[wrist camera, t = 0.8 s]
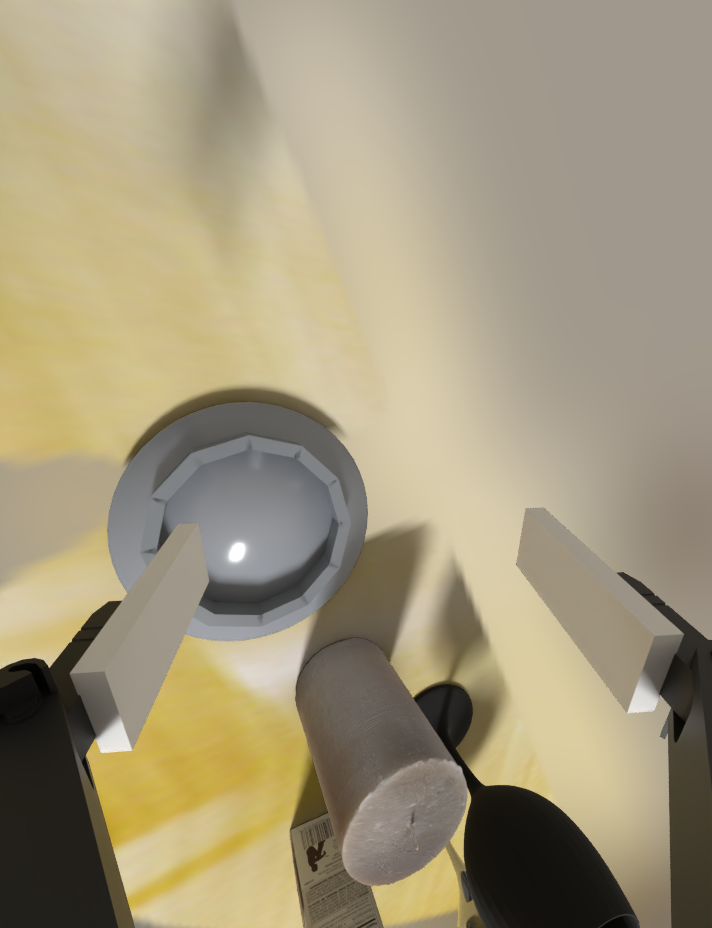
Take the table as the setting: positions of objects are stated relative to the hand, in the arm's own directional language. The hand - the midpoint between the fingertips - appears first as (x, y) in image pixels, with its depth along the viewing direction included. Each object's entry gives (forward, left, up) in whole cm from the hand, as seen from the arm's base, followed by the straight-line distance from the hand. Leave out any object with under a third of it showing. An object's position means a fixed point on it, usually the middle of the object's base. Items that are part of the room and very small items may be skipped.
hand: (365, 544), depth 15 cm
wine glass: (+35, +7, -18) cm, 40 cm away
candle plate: (+4, -4, -18) cm, 19 cm away
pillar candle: (+23, -1, -18) cm, 29 cm away
